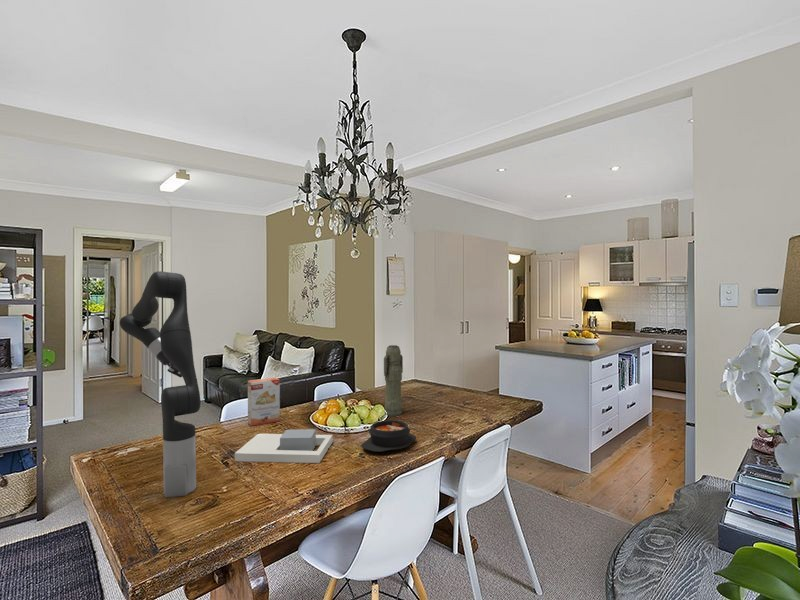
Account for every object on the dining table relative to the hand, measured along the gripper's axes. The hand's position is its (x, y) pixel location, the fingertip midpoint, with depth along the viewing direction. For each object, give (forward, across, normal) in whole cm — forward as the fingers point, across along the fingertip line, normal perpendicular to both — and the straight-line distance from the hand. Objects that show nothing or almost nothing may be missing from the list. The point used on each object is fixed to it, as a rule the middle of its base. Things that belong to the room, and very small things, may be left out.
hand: (194, 381), depth 167 cm
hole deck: (+45, +3, -5) cm, 45 cm away
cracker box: (+29, +39, +11) cm, 50 cm away
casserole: (+73, +12, -34) cm, 81 cm away
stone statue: (+72, +58, -32) cm, 98 cm away
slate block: (+48, +4, -8) cm, 49 cm away
